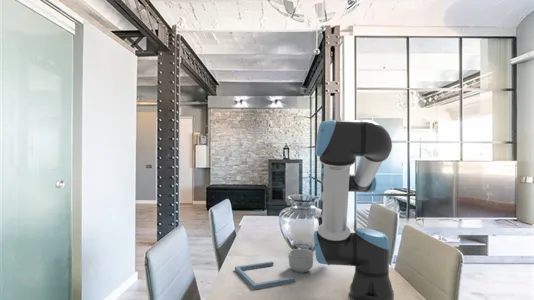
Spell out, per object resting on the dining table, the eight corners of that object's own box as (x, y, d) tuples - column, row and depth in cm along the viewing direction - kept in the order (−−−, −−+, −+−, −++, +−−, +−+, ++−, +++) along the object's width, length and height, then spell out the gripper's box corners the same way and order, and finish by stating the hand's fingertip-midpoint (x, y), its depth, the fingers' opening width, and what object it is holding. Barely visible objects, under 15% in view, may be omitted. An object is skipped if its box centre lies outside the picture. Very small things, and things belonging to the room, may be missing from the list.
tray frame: (295, 282, 126) (295, 278, 126) (253, 289, 119) (253, 285, 119) (272, 264, 146) (272, 261, 146) (234, 270, 138) (234, 266, 138)
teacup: (312, 275, 133) (312, 256, 133) (286, 273, 135) (286, 254, 135) (314, 264, 147) (314, 247, 147) (290, 262, 149) (290, 245, 149)
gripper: (335, 198, 154) (335, 247, 154) (313, 200, 148) (312, 250, 149) (345, 201, 147) (345, 252, 147) (322, 203, 142) (321, 255, 142)
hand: (328, 251), depth 148 cm, fingers closed
